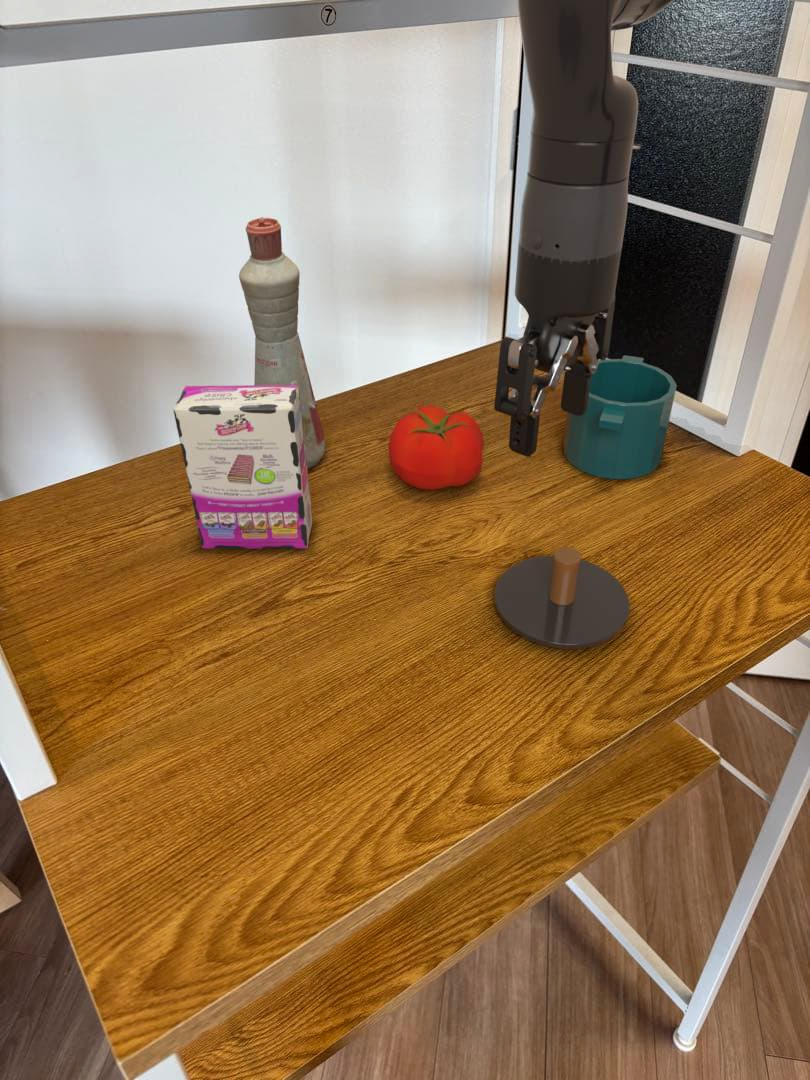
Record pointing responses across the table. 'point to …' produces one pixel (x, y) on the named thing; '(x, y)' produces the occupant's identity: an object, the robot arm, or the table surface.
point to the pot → (621, 420)
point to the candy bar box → (246, 465)
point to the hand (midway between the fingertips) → (548, 431)
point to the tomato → (436, 448)
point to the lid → (561, 601)
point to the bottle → (279, 325)
